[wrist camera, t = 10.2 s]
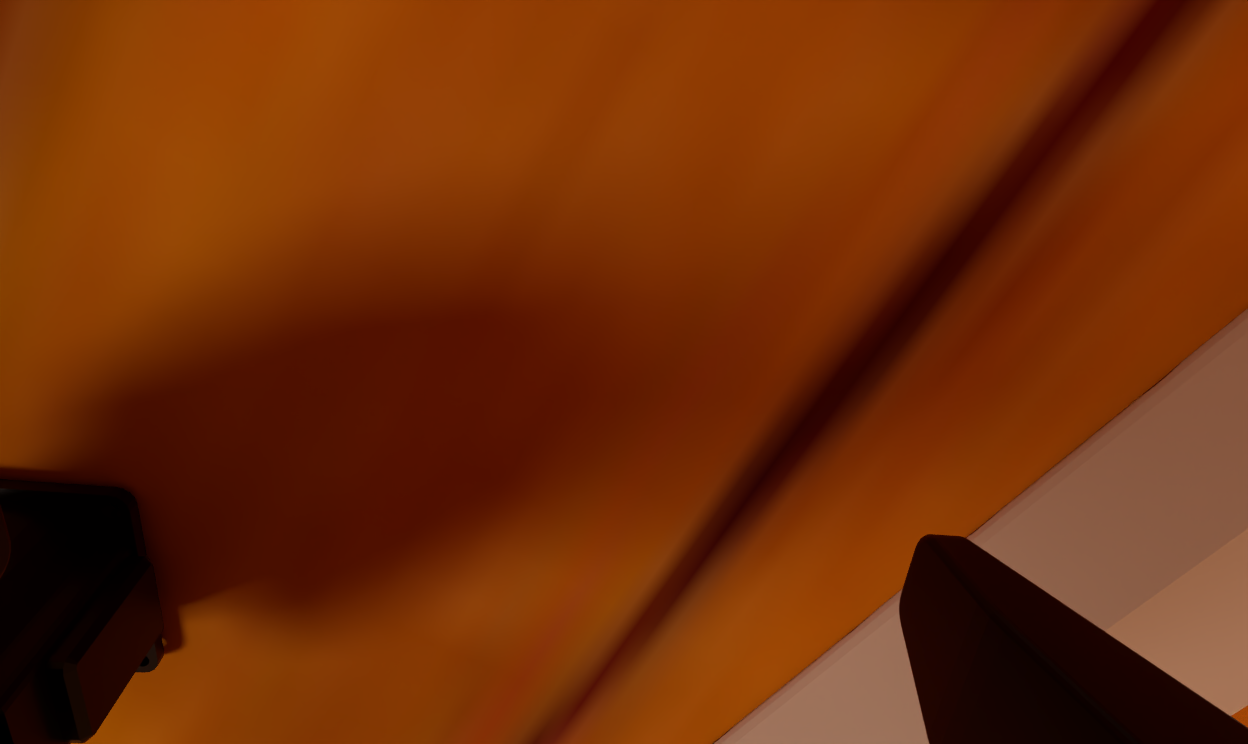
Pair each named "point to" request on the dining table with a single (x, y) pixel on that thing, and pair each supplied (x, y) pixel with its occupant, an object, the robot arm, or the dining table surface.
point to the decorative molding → (1087, 560)
